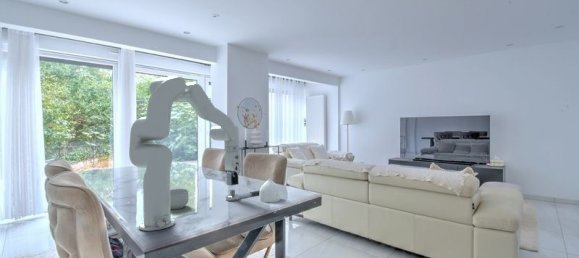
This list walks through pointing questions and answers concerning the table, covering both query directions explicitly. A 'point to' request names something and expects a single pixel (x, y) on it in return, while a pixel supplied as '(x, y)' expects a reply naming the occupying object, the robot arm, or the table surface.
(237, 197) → the ratchet
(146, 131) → the robot arm
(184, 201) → the teacup
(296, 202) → the table surface
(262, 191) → the teardrop
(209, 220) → the table surface
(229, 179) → the socket
